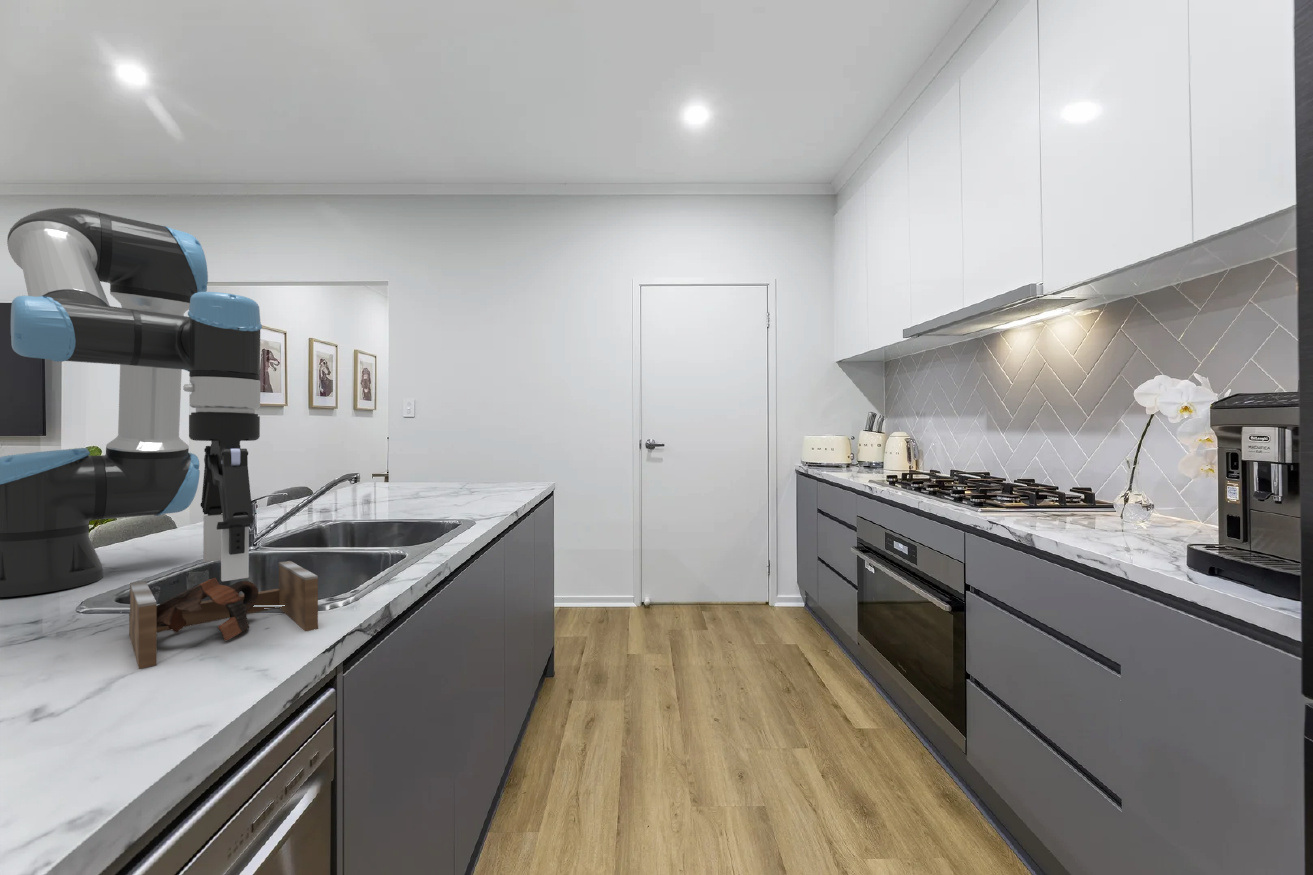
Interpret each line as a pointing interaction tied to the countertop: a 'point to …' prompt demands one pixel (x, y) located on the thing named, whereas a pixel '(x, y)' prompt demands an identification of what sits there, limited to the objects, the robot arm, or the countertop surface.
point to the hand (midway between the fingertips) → (224, 569)
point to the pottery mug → (220, 594)
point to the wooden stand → (223, 609)
